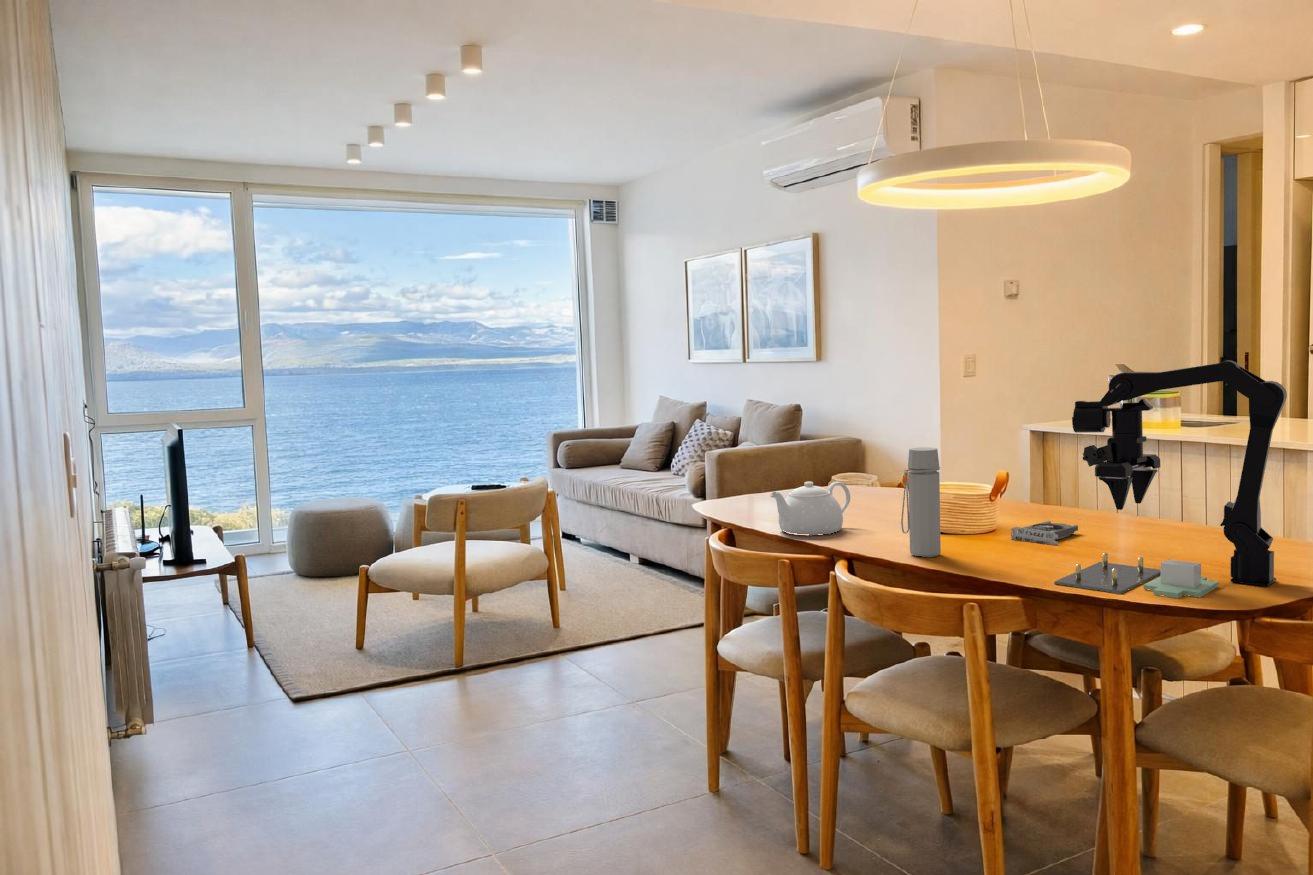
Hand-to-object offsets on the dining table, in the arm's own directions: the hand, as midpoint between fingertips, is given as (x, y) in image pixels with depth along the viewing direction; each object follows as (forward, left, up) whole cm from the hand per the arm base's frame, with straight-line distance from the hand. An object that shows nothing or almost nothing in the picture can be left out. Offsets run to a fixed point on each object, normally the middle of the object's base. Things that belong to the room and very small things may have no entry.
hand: (1129, 506), depth 205 cm
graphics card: (+28, -24, -14) cm, 40 cm away
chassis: (0, +9, -14) cm, 16 cm away
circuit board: (-13, +9, -14) cm, 21 cm away
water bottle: (+43, +11, -14) cm, 46 cm away
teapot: (+82, +2, -14) cm, 83 cm away
